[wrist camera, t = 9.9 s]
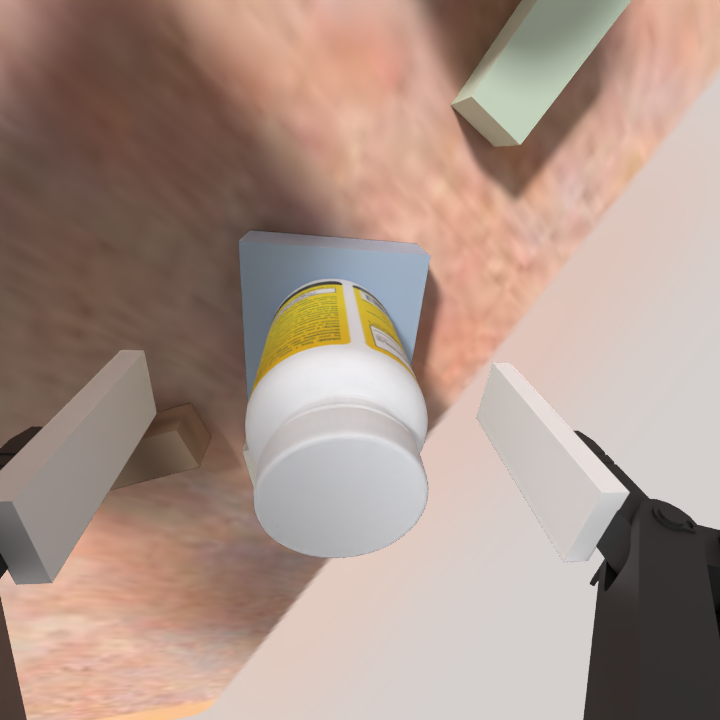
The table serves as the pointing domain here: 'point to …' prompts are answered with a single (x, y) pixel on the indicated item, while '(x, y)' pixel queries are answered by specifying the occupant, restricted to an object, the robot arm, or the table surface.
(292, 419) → the pill bottle
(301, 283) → the slab
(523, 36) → the sage brick
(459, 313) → the table surface
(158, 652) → the table surface
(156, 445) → the walnut brick
